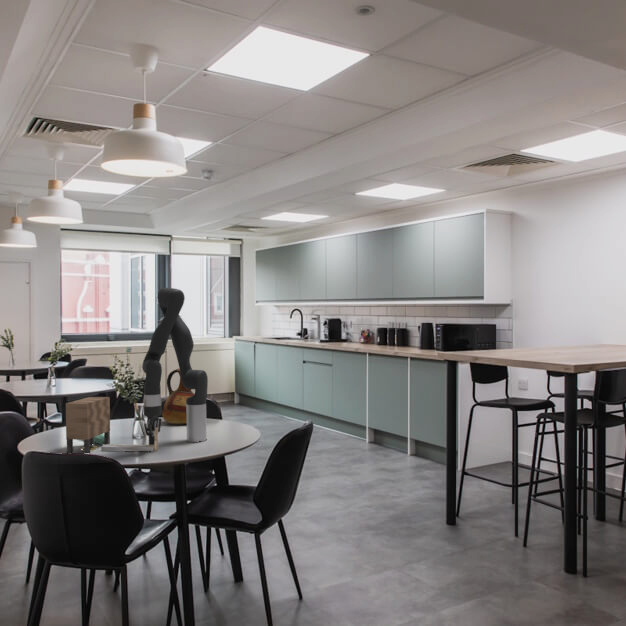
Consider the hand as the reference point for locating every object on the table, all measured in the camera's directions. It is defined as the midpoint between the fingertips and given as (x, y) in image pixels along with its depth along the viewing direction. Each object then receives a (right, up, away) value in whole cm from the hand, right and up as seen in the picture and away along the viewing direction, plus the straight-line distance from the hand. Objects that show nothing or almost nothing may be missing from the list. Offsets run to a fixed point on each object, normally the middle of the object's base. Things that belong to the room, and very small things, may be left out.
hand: (153, 443), depth 273 cm
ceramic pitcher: (-2, -3, +67) cm, 67 cm away
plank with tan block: (-11, -3, +2) cm, 12 cm away
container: (-35, -4, +23) cm, 42 cm away
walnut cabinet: (-30, -4, +5) cm, 30 cm away
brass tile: (-30, -4, +5) cm, 31 cm away
